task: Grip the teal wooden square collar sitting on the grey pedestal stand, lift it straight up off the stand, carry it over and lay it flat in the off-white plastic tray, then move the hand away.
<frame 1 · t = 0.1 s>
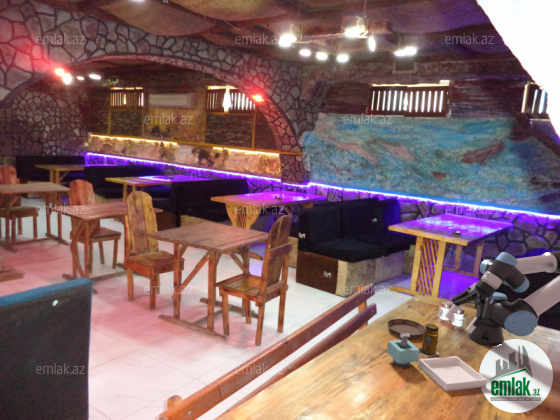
hand: (457, 324, 187), 15 cm above the table, tool tilted 35°, fingers open, 13 cm apart
condiment: (426, 352, 194), on the table
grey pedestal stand: (401, 363, 182), on the table
plant saucer: (405, 332, 213), on the table
collar: (402, 356, 182), point 3 cm above the table, touching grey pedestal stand
tray: (450, 376, 175), on the table
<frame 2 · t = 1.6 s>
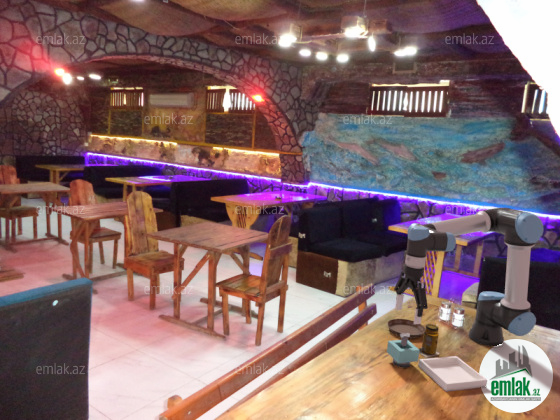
hand: (407, 316, 178), 20 cm above the table, tool pointing down, fingers open, 13 cm apart
nothing on the table moved.
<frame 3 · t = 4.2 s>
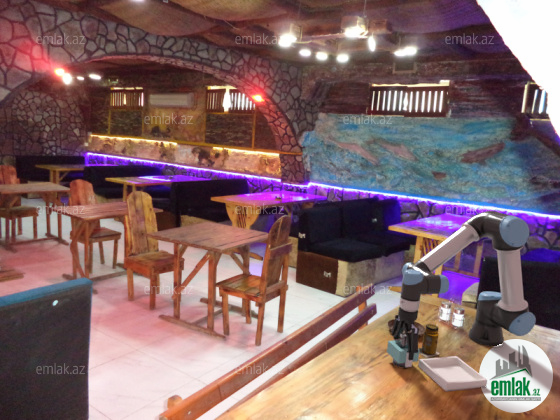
hand: (401, 360, 182), 1 cm above the table, tool pointing down, fingers closed on collar, 9 cm apart
collar: (402, 356, 182), point 3 cm above the table, touching gripper, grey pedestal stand
everything else where it was.
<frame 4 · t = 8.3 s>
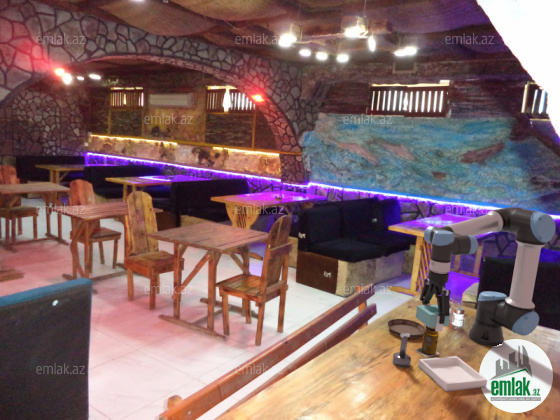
hand: (431, 325, 176), 19 cm above the table, tool pointing down, fingers closed on collar, 9 cm apart
collar: (431, 321, 175), point 20 cm above the table, touching gripper
everything else where it was.
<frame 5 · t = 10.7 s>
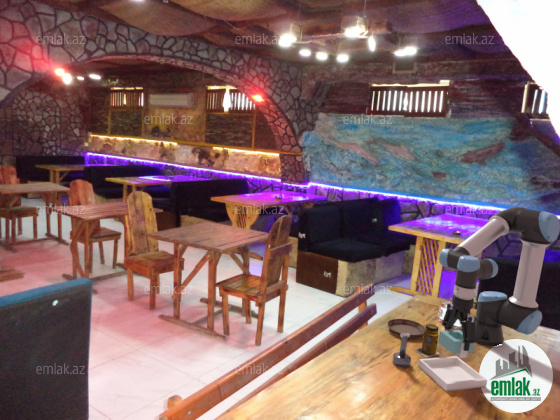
hand: (454, 351, 173), 11 cm above the table, tool pointing down, fingers closed on collar, 9 cm apart
collar: (455, 347, 173), point 12 cm above the table, touching gripper
everything else where it was.
when the fingers open (2 cm above the table, at t = 12.8 s): collar drops 3 cm, resting on tray.
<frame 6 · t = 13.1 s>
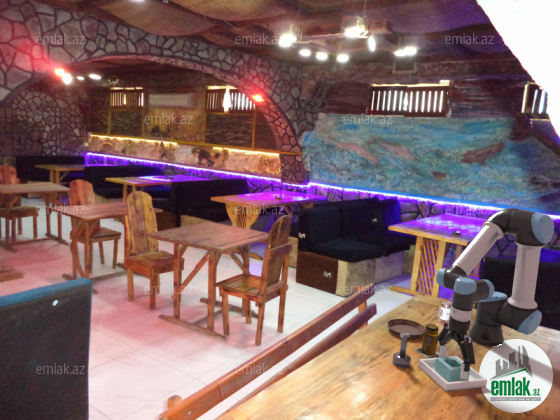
hand: (452, 369, 175), 3 cm above the table, tool pointing down, fingers open, 13 cm apart
collar: (451, 374, 175), point 1 cm above the table, touching tray
everything else where it was.
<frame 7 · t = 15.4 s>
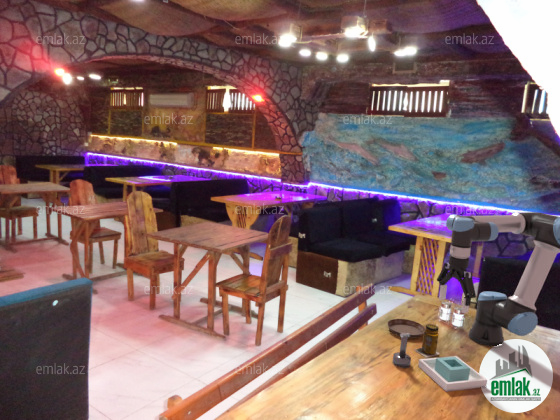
hand: (453, 305, 183), 25 cm above the table, tool pointing down, fingers open, 13 cm apart
nothing on the table moved.
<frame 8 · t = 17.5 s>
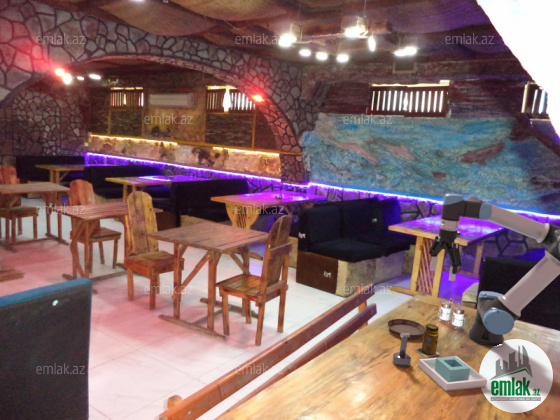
hand: (441, 275, 199), 32 cm above the table, tool pointing down, fingers open, 13 cm apart
nothing on the table moved.
at the end: collar inside the target area on the tray (0.0 cm from its centre), point 0.6 cm above the tray's base; collar tilted 0°; the gripper is holding nothing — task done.
